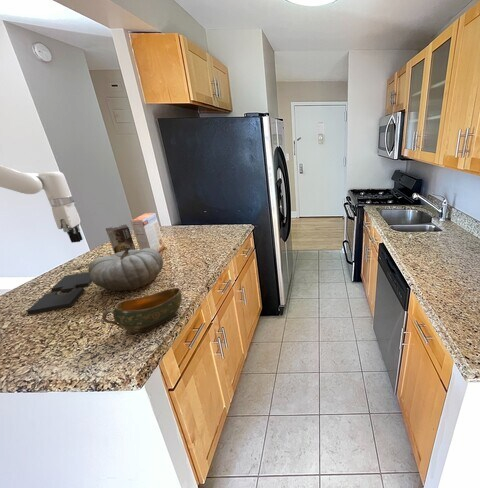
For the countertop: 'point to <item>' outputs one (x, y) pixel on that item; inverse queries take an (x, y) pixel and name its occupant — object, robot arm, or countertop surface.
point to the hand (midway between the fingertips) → (77, 240)
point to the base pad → (55, 301)
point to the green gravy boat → (145, 311)
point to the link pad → (72, 282)
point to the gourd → (126, 269)
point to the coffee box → (120, 238)
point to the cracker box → (148, 232)
